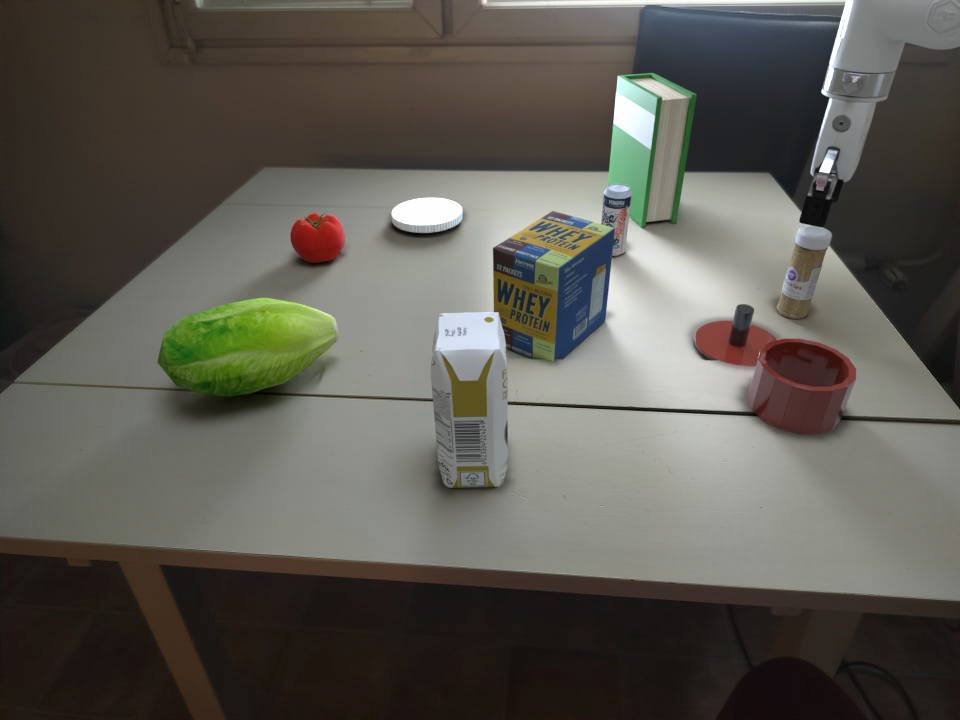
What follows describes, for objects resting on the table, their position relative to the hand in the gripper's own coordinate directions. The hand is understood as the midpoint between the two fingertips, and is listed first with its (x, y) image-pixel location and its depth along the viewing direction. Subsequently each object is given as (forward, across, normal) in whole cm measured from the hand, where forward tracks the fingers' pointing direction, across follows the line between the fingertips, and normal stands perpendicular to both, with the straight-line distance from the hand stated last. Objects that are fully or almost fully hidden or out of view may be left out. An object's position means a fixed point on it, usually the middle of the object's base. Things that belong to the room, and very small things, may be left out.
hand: (818, 211), depth 93 cm
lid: (+16, -14, +4) cm, 22 cm away
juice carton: (+17, -54, +23) cm, 61 cm away
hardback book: (+17, +27, +35) cm, 47 cm away
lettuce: (+17, -55, +57) cm, 81 cm away
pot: (+16, -25, -6) cm, 30 cm away
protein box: (+17, -24, +28) cm, 41 cm away
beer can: (+17, +6, +32) cm, 36 cm away
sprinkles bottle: (+16, 0, 0) cm, 16 cm away
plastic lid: (+17, -1, +68) cm, 71 cm away
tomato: (+17, -23, +77) cm, 82 cm away
